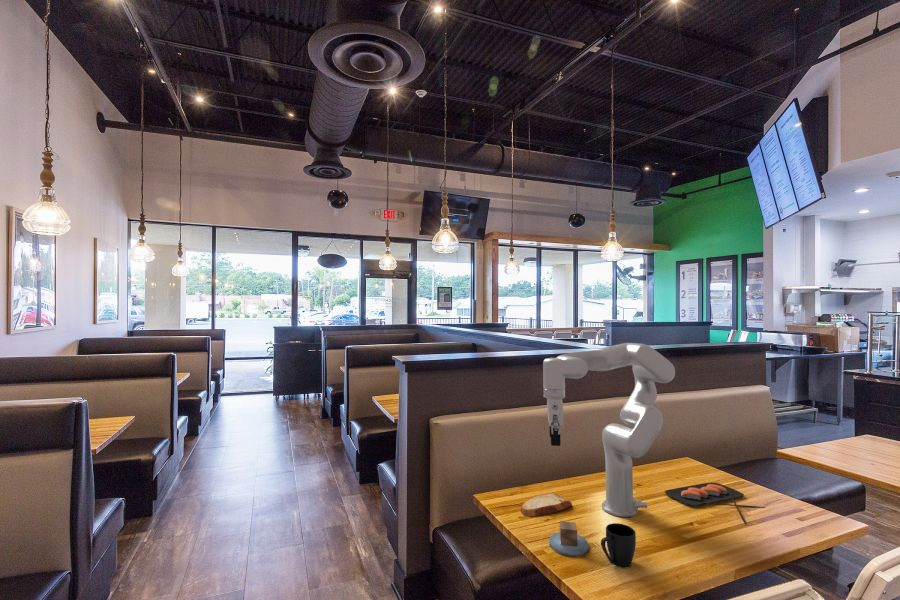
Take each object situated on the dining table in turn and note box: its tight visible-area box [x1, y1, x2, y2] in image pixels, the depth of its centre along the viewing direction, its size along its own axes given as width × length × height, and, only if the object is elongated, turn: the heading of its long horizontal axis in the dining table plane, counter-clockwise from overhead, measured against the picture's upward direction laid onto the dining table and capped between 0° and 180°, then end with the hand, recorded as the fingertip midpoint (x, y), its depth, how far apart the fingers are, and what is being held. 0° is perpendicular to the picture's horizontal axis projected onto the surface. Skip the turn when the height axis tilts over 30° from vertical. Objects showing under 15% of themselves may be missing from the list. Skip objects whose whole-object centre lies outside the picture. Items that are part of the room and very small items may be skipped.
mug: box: [600, 522, 637, 569], centre depth 126 cm, size 8×12×10 cm
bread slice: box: [520, 493, 572, 518], centre depth 162 cm, size 18×18×4 cm
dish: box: [548, 531, 589, 557], centre depth 136 cm, size 12×12×1 cm
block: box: [559, 520, 578, 546], centre depth 136 cm, size 5×5×5 cm
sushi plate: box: [664, 481, 767, 526], centre depth 164 cm, size 29×30×4 cm
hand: (554, 441), depth 152 cm, fingers open, 9 cm apart
